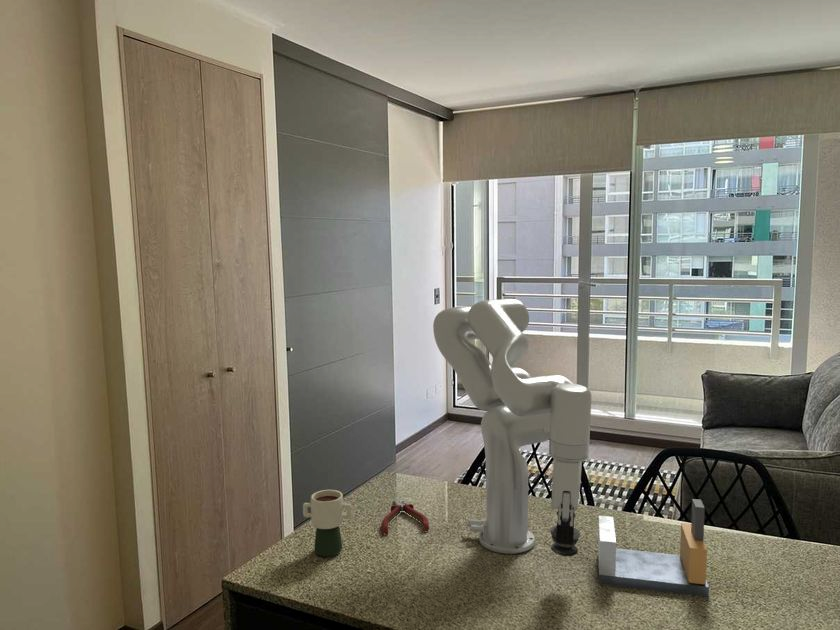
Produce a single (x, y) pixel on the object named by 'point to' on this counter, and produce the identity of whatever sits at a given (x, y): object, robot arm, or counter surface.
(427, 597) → the counter surface
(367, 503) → the counter surface
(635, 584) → the vise
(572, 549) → the dark grey chess piece
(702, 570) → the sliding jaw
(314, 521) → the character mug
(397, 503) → the pliers
